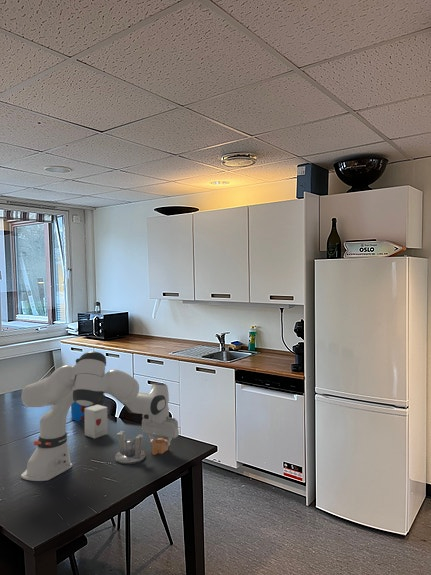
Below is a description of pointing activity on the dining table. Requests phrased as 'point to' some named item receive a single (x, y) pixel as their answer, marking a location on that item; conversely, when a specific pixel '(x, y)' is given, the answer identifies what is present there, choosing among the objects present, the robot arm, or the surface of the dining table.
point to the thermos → (78, 411)
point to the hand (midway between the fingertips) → (160, 443)
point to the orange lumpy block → (159, 446)
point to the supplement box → (96, 421)
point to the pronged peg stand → (129, 450)
